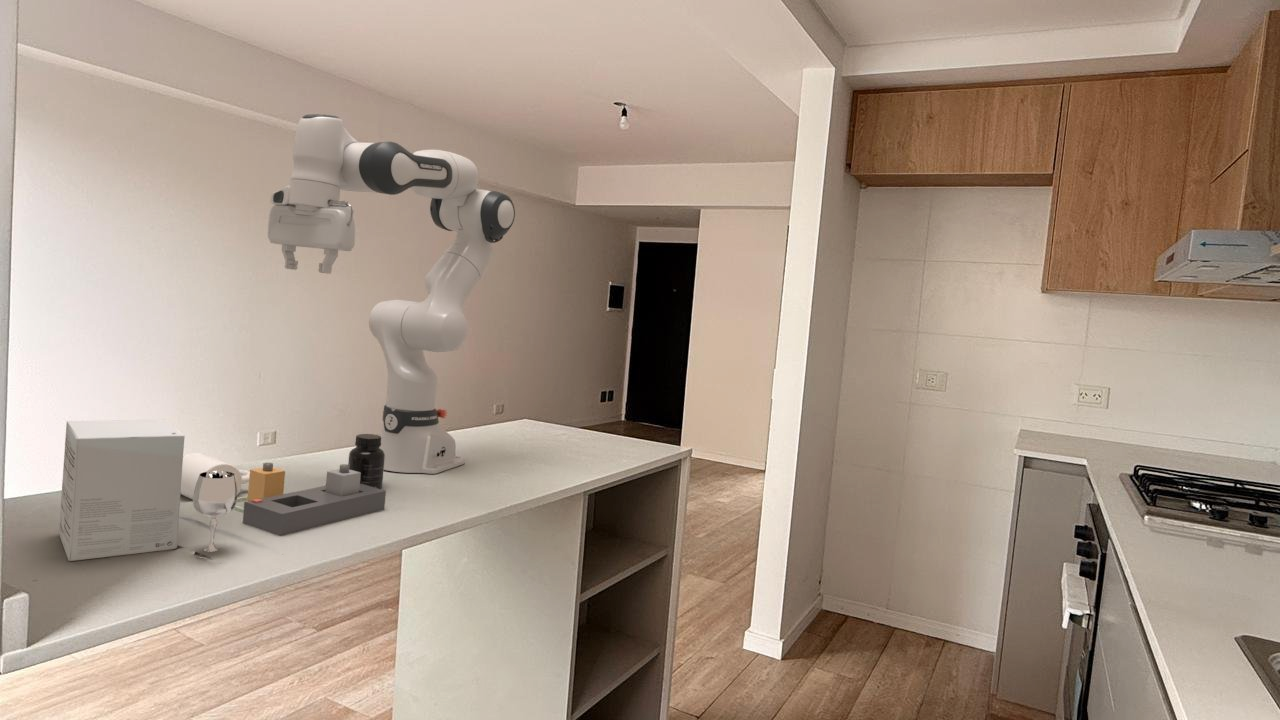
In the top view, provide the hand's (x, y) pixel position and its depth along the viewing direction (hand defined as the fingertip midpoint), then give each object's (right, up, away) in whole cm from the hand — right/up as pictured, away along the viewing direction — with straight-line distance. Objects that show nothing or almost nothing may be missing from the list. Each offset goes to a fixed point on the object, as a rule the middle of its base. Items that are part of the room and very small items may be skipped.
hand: (307, 271), depth 146 cm
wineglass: (0, -46, -33) cm, 57 cm away
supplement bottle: (+8, -44, +7) cm, 46 cm away
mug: (-14, -43, -7) cm, 46 cm away
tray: (-3, -44, -11) cm, 46 cm away
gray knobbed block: (+10, -44, -10) cm, 46 cm away
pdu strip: (+8, -46, -14) cm, 48 cm away
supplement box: (-14, -45, -32) cm, 57 cm away
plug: (-3, -44, -11) cm, 45 cm away
